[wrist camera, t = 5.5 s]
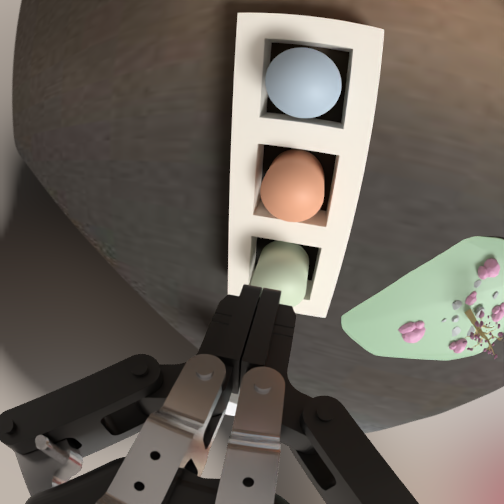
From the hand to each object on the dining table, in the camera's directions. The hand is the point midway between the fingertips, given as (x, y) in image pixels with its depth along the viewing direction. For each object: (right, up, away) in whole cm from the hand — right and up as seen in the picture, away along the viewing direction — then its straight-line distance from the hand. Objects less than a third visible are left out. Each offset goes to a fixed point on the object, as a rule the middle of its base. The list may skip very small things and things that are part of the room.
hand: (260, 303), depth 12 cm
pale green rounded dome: (+3, +1, +16) cm, 16 cm away
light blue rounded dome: (+4, +14, +7) cm, 16 cm away
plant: (+22, -5, +18) cm, 29 cm away
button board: (+3, +9, +13) cm, 16 cm away
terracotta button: (+3, +8, +12) cm, 15 cm away
